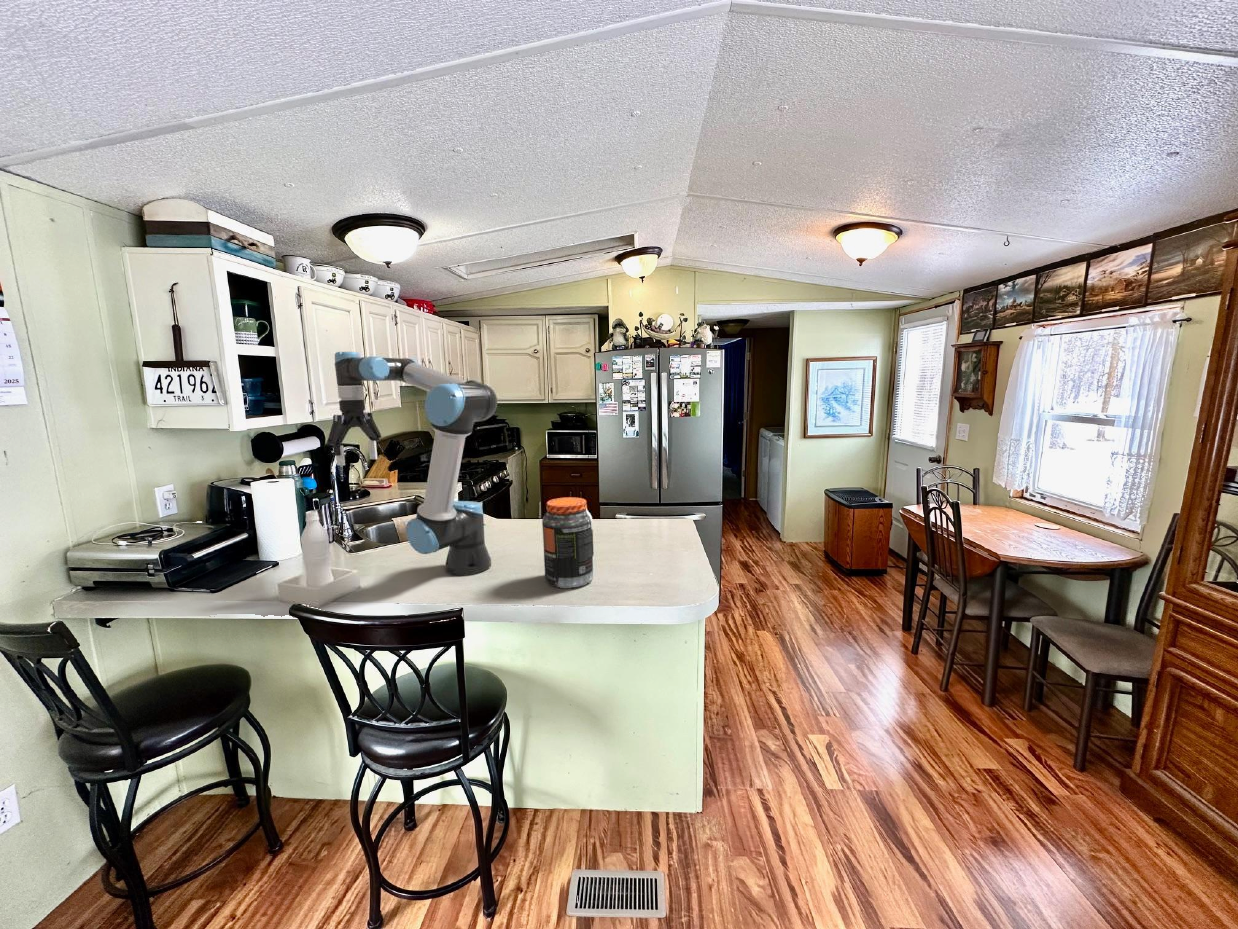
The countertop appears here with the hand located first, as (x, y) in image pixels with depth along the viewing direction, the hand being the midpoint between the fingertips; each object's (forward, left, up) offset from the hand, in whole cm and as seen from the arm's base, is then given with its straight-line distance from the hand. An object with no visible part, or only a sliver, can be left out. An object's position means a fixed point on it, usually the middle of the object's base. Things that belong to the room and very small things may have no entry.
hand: (358, 462), depth 170 cm
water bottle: (-6, +24, -36) cm, 44 cm away
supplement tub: (-74, -8, -37) cm, 83 cm away
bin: (-6, +24, -37) cm, 44 cm away
